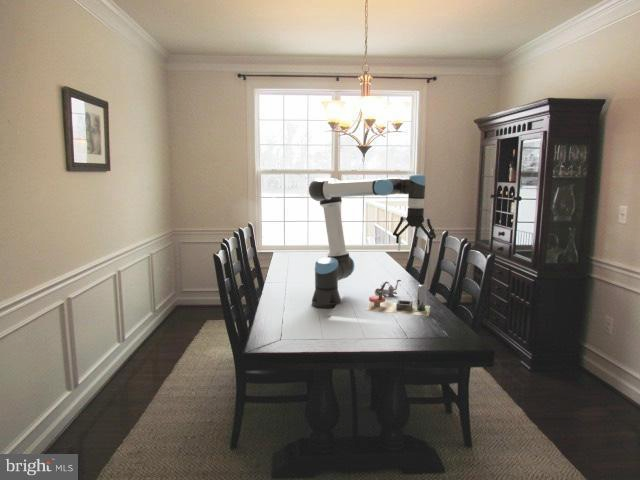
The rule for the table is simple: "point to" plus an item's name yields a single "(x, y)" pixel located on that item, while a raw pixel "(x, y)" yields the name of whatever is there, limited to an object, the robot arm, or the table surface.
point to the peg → (421, 298)
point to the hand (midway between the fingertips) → (413, 251)
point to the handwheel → (377, 299)
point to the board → (399, 308)
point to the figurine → (385, 291)
